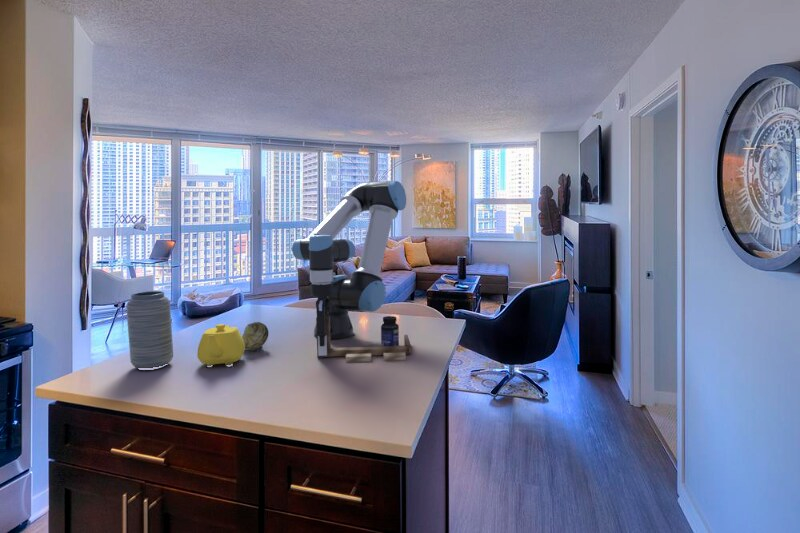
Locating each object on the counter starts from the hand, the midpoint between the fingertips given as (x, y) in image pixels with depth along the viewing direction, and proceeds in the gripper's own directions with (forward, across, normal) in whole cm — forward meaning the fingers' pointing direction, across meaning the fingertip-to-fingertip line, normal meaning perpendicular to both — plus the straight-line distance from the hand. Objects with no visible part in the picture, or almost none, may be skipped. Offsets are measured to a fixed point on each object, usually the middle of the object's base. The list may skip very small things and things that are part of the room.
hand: (324, 351), depth 145 cm
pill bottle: (+2, +6, -22) cm, 23 cm away
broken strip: (+2, -5, -18) cm, 19 cm away
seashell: (+2, +11, +25) cm, 27 cm away
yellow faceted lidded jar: (+2, -5, +32) cm, 32 cm away
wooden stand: (+1, +5, -13) cm, 14 cm away
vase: (+2, -5, +52) cm, 52 cm away
